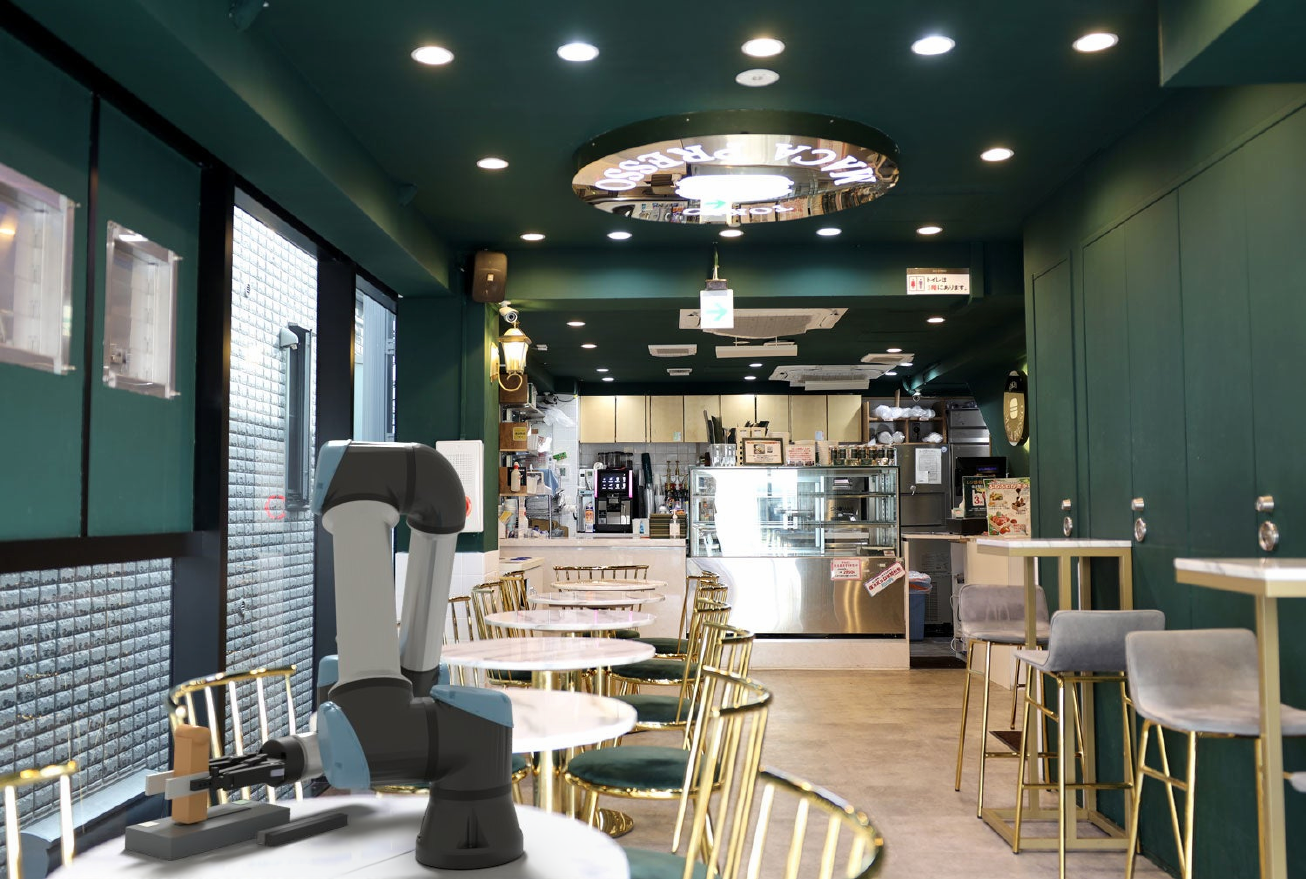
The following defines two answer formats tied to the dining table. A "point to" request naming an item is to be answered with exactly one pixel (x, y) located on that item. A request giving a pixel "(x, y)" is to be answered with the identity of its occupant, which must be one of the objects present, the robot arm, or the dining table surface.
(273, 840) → the grooved grey bar
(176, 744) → the handle
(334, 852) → the dining table surface
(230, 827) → the base
